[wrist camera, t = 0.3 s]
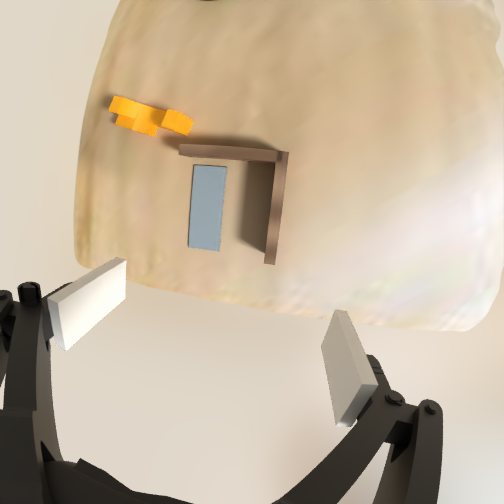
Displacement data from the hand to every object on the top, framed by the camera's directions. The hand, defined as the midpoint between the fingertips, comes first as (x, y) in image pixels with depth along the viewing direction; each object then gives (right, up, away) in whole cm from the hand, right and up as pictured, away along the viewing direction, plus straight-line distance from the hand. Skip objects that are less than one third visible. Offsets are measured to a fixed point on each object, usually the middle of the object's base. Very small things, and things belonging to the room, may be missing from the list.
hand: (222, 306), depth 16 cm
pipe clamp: (-14, +24, +23) cm, 36 cm away
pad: (-5, +10, +26) cm, 28 cm away
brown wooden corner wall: (-1, +11, +25) cm, 27 cm away
